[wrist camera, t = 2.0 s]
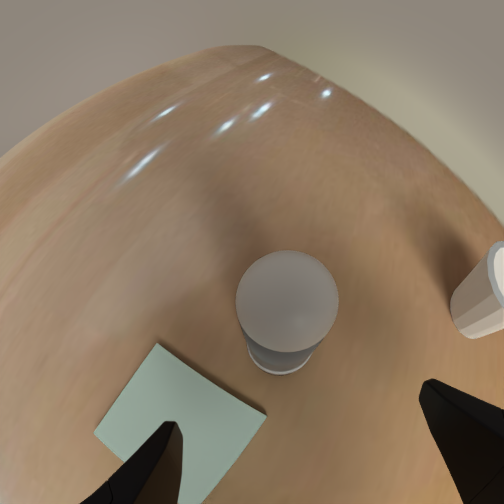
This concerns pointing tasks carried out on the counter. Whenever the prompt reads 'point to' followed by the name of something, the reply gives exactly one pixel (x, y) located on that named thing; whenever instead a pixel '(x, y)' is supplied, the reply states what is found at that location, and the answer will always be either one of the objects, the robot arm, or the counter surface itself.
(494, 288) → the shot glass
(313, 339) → the cylinder
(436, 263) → the counter surface
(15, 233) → the counter surface
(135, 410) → the coaster
